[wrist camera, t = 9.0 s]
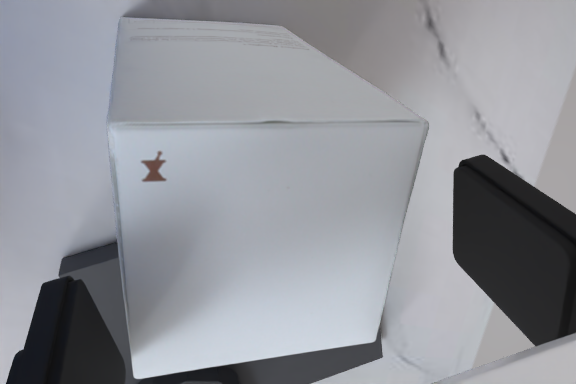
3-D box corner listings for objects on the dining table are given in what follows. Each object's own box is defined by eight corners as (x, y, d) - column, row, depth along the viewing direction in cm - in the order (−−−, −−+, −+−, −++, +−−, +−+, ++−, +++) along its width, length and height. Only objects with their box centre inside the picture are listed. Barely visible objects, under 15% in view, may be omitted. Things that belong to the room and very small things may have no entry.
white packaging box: (125, 175, 23) (120, 389, 12) (116, 12, 20) (98, 112, 9) (274, 171, 25) (378, 351, 14) (289, 23, 22) (439, 116, 11)
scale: (146, 433, 32) (148, 477, 29) (52, 261, 24) (42, 300, 22) (375, 351, 34) (394, 385, 32) (356, 171, 27) (379, 196, 24)
